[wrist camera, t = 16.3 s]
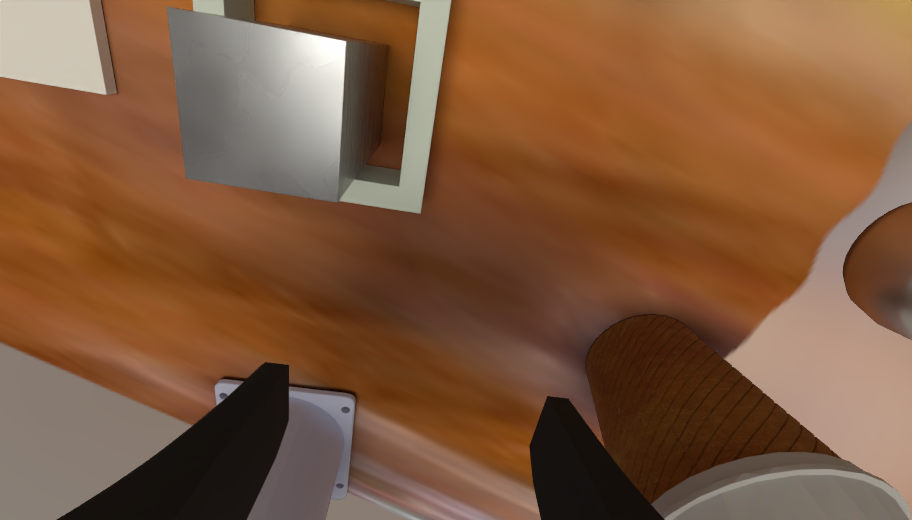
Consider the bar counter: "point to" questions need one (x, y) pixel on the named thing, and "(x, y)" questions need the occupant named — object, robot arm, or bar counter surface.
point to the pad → (56, 44)
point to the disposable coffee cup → (716, 436)
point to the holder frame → (408, 182)
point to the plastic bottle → (883, 271)
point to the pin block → (275, 103)
